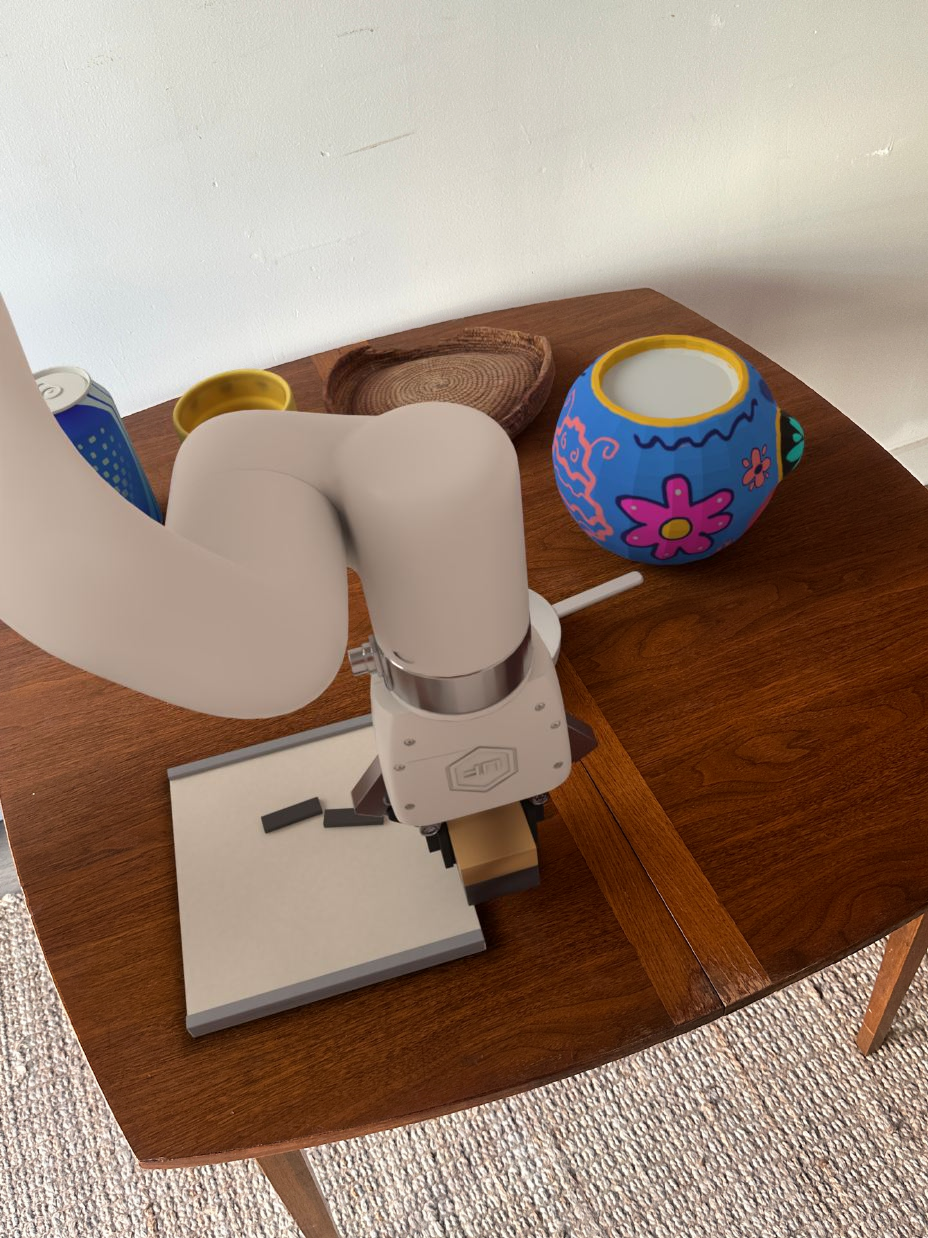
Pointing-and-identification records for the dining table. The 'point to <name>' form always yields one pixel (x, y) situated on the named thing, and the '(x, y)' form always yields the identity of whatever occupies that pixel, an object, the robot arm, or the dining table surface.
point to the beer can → (97, 432)
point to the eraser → (494, 853)
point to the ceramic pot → (671, 448)
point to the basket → (448, 376)
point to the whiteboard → (301, 882)
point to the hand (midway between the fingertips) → (485, 834)
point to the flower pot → (231, 397)
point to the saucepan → (572, 608)
